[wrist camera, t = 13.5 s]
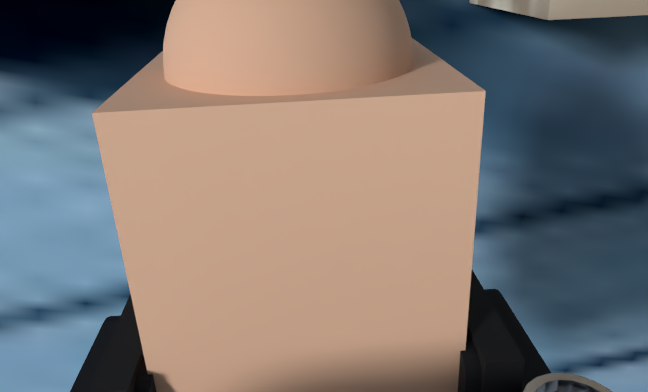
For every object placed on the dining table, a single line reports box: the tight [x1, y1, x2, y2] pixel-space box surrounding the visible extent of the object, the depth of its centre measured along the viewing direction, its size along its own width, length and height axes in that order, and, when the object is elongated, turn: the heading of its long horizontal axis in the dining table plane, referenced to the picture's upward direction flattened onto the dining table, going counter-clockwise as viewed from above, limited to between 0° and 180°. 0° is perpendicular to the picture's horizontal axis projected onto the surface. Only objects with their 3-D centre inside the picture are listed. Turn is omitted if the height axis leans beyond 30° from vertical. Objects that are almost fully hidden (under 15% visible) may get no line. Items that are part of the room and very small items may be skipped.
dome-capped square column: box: [92, 0, 485, 392], centre depth 10 cm, size 13×4×4 cm, turn 2°
